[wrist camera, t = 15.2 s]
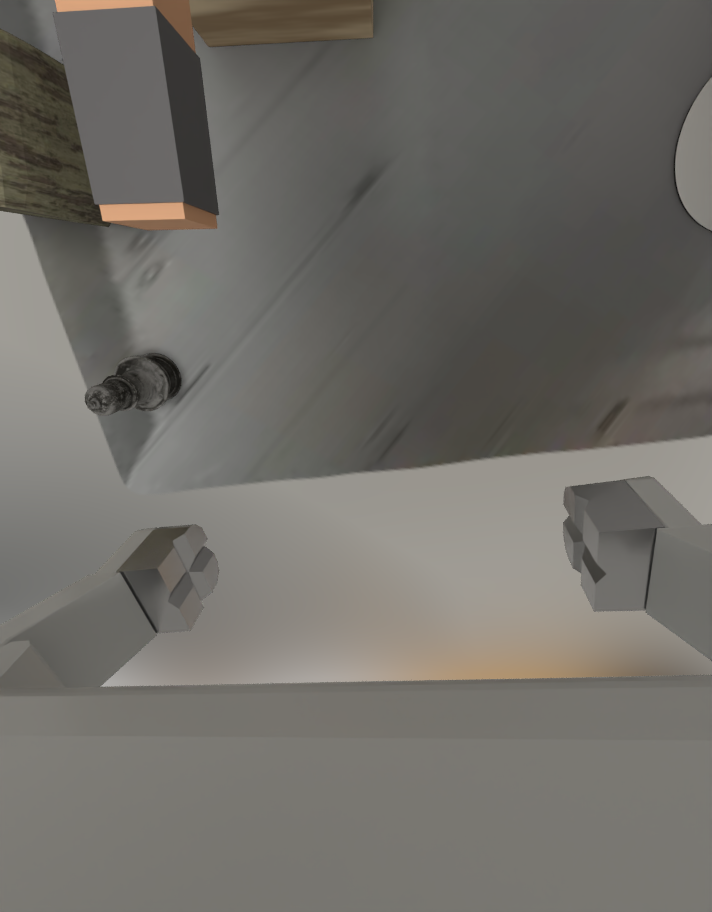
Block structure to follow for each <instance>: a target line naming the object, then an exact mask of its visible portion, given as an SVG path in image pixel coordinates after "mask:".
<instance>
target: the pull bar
mask: <svg viewBox="0 0 712 912" xmlns="http://www.w3.org/2000/svg"><path fill="white" fill-rule="evenodd" d="M55 2H56V7H57V12H53V17H54V22H55V26H56V31H57V35H58V40H59V44H60V49H61V53H62V58H63V63H64V67H65V72H66V76H67V81H68V85H69V90H70V94H71V99H72V103H73V108H74V113H75V117H76V122H77V126H78V131H79V135H80V140H81V144H82V149H83V154H84V158H85V163H86V167H87V172H88V176H89V181H90V185H91V190H92V195H93V199H94V204H95V205H99V206H100V211H101V215H102V220H103V221H105V222H110V223H115V224H120V225H125V226H129V227H134V228H139V229H144V230H178V229H217V221H216V215H219V211H218V203H217V195H216V186H215V178H214V170H213V162H212V154H211V145H210V137H209V129H208V121H207V113H206V104H205V96H204V88H203V80H202V72H201V63H200V58H199V57H198V56H197V54H196V52H195V44H194V36H193V28H192V20H191V12H190V4H189V0H55Z"/></svg>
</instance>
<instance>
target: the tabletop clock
mask: <svg viewBox="0 0 712 912" xmlns="http://www.w3.org/2000/svg"><path fill="white" fill-rule="evenodd" d="M0 211H5V212H12V213H18V214H25V215H31V216H38V217H45V218H51V219H58V220H64V221H71V222H78V223H85V224H91V225H98V226H105V227H109V226H110V224H111V223H110V222H105V221H103V220H102V215H101V211H100V206H99V205H95V204H94V199H93V195H92V190H91V185H90V181H89V176H88V172H87V167H86V163H85V158H84V154H83V149H82V144H81V140H80V135H79V131H78V126H77V122H76V117H75V113H74V108H73V103H72V99H71V94H70V90H69V85H68V81H67V76H66V72H65V67H64V65H63V64H61V63H60V62H58V61H56V60H55V59H53V58H51V57H50V56H48V55H47V54H45V53H43V52H42V51H40V50H38V49H37V48H35V47H33V46H31V45H30V44H28V43H26V42H24V41H23V40H21V39H19V38H17V37H15V36H13V35H12V34H10V33H8V32H6V31H4V30H2V29H0Z"/></svg>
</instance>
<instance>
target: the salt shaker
mask: <svg viewBox="0 0 712 912" xmlns="http://www.w3.org/2000/svg"><path fill="white" fill-rule="evenodd" d="M180 386H181V376H180V372H179V370H178V368H177V366H176V365H175V364H174V363H173V362H172V361H171V360H170V359H169V358H167V357H165V356H163V355H161V354H156V353H152V354H147V355H144V356H143V357H141V356H130V357H127V358H124V359H123V360H122V361H121V362H119V364H118V365H117V367H116V369H115V372H114V375H112V376H109V377H107V378H106V379H105V380H104V381H103V383H102V384H99V385H96V386H93V387H91V388H90V389H89V390H88V391H87V392H86V394H85V402H86V405H87V406H88V408H89V409H90V410H91V411H93V412H94V413H95V414H97V415H101V416H107V415H111V414H113V413H115V412H117V411H119V410H120V411H128V410H131V409H132V408H136V409H138V410H142V411H152V410H155V409H158V408H159V407H161V406H162V405H163V404H164V403H165V402H166V400H167V399H170V398H172V397H174V396H175V395H176V394H177V393H178V391H179V389H180Z"/></svg>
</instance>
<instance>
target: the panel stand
mask: <svg viewBox="0 0 712 912" xmlns="http://www.w3.org/2000/svg"><path fill="white" fill-rule="evenodd" d="M189 4H190V12H191V20H192V26H193V27H194V28H195V30H196V31H197V32H198V34H199V35H200V36H201V37H202V39H203V40H204V41H205V43H206V44H207V45H208V46H209V47H216V46H234V45H251V44H269V43H287V42H305V41H323V40H341V39H359V38H373V0H189Z"/></svg>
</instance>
